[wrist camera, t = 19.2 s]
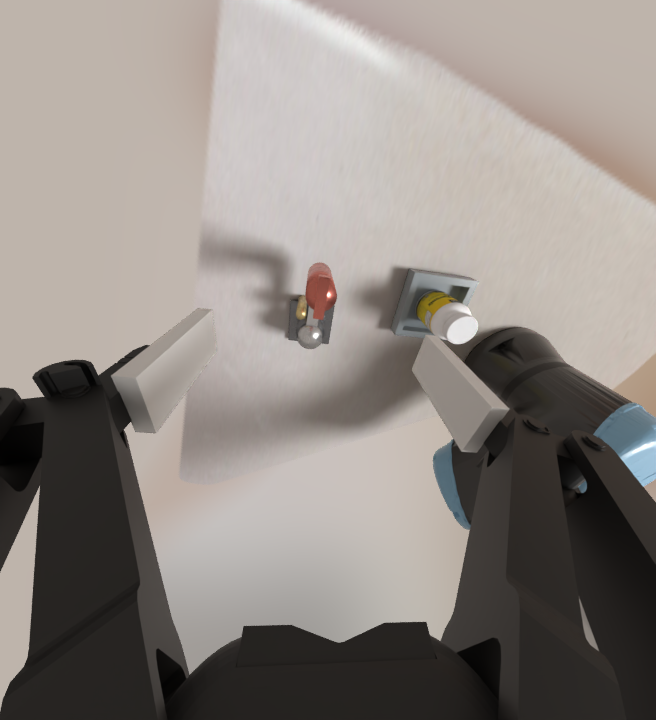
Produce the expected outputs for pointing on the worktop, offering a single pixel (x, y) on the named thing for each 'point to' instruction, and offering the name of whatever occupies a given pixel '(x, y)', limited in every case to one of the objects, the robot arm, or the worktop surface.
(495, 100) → the worktop surface
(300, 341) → the crank
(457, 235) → the worktop surface
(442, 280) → the tray
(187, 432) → the worktop surface
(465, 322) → the supplement bottle
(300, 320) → the crank pedestal
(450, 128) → the worktop surface
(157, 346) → the robot arm
